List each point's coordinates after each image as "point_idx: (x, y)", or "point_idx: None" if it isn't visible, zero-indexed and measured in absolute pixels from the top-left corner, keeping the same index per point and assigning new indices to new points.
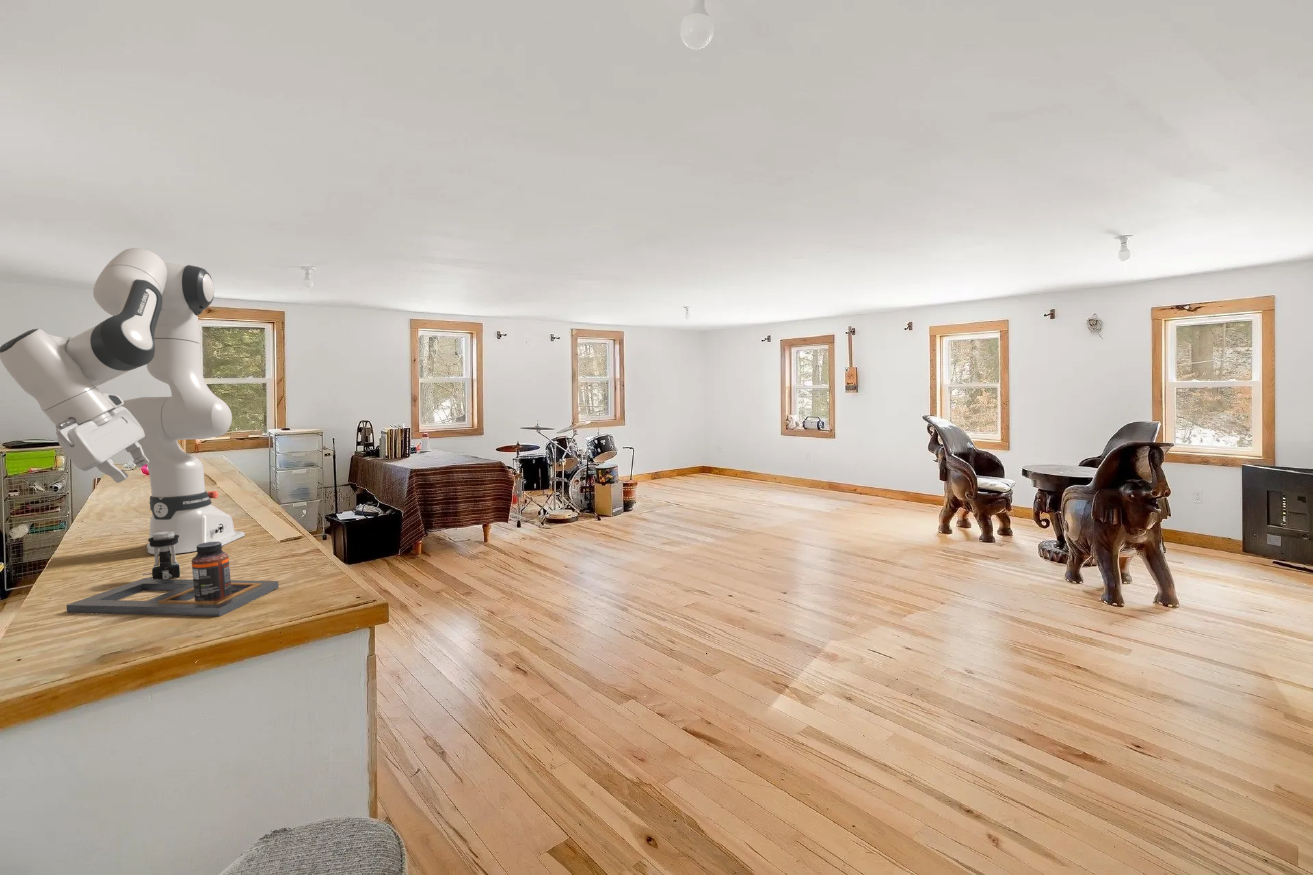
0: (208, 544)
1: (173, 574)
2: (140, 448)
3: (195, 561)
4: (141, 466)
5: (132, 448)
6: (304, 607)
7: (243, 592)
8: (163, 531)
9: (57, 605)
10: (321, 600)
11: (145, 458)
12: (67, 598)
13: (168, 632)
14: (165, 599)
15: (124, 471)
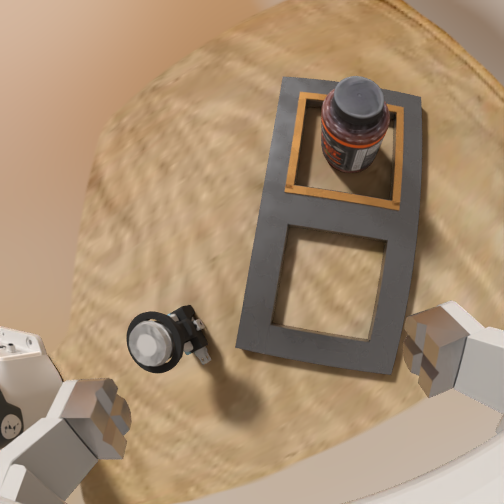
0: (365, 93)
1: (192, 314)
2: (18, 452)
3: (388, 124)
4: (123, 401)
5: (49, 499)
6: (374, 23)
7: None
8: (132, 353)
9: (340, 417)
10: (345, 15)
11: (69, 398)
12: (300, 428)
13: (475, 141)
14: (388, 204)
15: (434, 332)
